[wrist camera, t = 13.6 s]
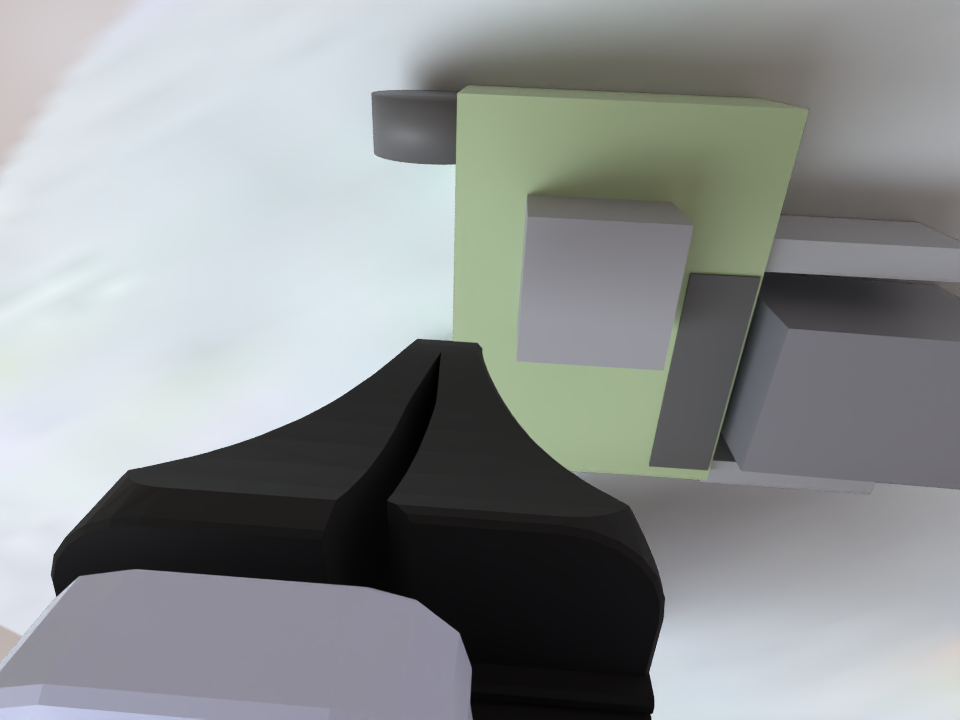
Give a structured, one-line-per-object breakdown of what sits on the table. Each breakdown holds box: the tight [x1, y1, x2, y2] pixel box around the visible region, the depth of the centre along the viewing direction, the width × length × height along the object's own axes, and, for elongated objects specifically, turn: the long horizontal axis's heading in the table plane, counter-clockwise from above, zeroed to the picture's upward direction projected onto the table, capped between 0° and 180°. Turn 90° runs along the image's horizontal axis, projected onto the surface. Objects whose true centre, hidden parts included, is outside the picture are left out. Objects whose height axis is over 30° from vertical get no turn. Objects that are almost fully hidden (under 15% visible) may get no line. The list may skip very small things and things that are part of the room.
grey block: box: [721, 272, 960, 489], centre depth 20 cm, size 5×7×5 cm
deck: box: [372, 85, 960, 494], centre depth 19 cm, size 12×18×6 cm
